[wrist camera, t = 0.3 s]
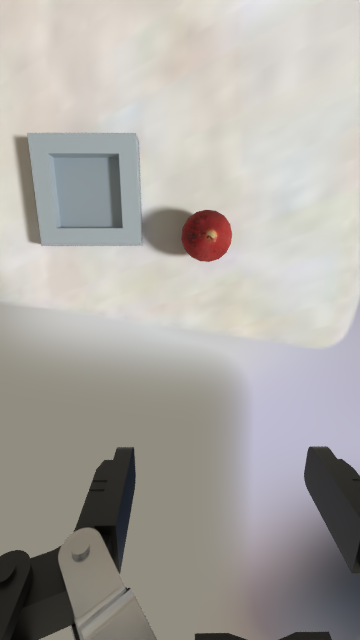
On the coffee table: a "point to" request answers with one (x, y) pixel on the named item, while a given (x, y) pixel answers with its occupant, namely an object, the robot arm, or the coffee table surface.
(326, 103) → the coffee table surface
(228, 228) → the onion
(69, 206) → the base plate
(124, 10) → the coffee table surface
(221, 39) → the coffee table surface
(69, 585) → the robot arm
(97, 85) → the coffee table surface
